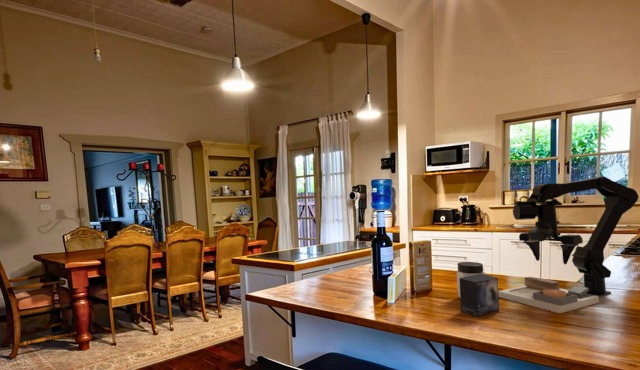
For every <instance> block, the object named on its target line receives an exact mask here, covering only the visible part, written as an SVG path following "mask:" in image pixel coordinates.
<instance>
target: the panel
mask: <svg viewBox="0 0 640 370" xmlns="http://www.w3.org/2000/svg"><path fill="white" fill-rule="evenodd" d="M559 289H560V290H562V291H565V292H566V296H565V297H561V298H557V297H553V296H548V295H544V294H543V290H541V289H537V288H532V287H528V286H525V285H523V286H517V287H512V288H508V289H503V290H498V291H499V298H502V299H504V300H509V301H512V302H517V303H520V304H524V305H528V306H530V307H535V308H538V309H542V310H545V309H546V310H547V311H549V310H550V311H549V312H553V313H557V314H562V313H566V312H569V311H574V310H577V309H581V308H585V307H589V306H591V305H595V304H599V303H600V300H599V299H600V298H599V295H594V294H589V293H585V294H583V295H582V296H577V295H575V294H570V293H568V290H569V289H564V288H560V287H559ZM546 310H545V311H546Z"/></svg>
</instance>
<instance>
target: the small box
mask: <svg viewBox="0 0 640 370" xmlns="http://www.w3.org/2000/svg"><path fill="white" fill-rule="evenodd" d="M459 280H460V298H459V300H460V312H461V313H465V314H468V315H471V316H473V317H476V318H478V317H482V316H485V315H489V314H492V313H497V312H500V309H501V308H500V297H499V291H500V290H499V277H497V276H494V275H493V276H492V275H488V274H486V273H485V274H477V275H472V276H466V277H461V278H459Z"/></svg>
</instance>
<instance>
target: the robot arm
mask: <svg viewBox="0 0 640 370" xmlns="http://www.w3.org/2000/svg"><path fill="white" fill-rule="evenodd" d="M590 190H596V191H597V192H598V193H599V194H600V195H601V196H603V197H605V199H604V207H605V209H604V210H603V213H602V215H601V217H600V218H599V220H598V222H597V224H596V226H595V228H594V230H593V231H592V233H591V235H590V237H589V239H588V241H587V243H586V244H585V245H584V246H579V245H581V244H583V243H584V242H583V241H584V240H583V237H582V236H581V235H580V234H572V233H571V234H569V233H568V234H563V235H561V232H560V231H559V229H558V228H559V227H558V225H559V224H560V220H558V218H557V208H556V207H557V206H562V205H563V202H561V201H559V200H558V199H557V198H560V197H562V196H563V195H566V194H572V193H576V192H584V191H590ZM549 200H550V201H549ZM638 200H639V194H638V192H637V191H636V190H635V189H634V188H631V187H628V186H626V185H624V184H621V183H620V182H616V181H614V180H612V179H610V178H609V177H606V176H594V177H592V178H587V179H582V180H575V181H570V182H564V183H553V182H552V183H540V184H536V185H535V186H534V187H533V188H532V193H531V194H530V196H529V197H528V199H527V201H526V200H525V201H524V200H523V201H522V200H517V201H514V206H513V210H512V215H513V217H514V219H515V220H516V221H519V220H521V221H522V220H535V219H536V218H537V221H535V224H534V225H535V226H534V227H532V228H531V229H530V230H528V231H527V232H521V233H519V236H518V238H519V240H518V241H520V242H522V243H523V244H526V245H527V246H528V247H529V249H530V250H531V252H532V255H533V256H534V258H535V260H536V261H537V262H538V261H540V257H541V247H540V246H541V243H540V242H545V241H551V242H560V243H561V244H559V246H560V248H561V251H562V263H563V265H567V264H568V262H569V260H570V257H572V259H571V262H572V263H573V266H574V267H575V268H576V269H577V270H578V272H579V273H580V274H583V284H584V285H583V287H586V288H589V291H588V292H587V293H586V294H590V295H594V296H598V297H599V296H600V297H601V296H607V295H610V294H612V291H608V290H607V288H606V279H607V278H610V277H611V274H612V271H611V270H610V269H609V268H607V267H606V266H605V265H604V261H605V253H604V250H605V248H606V246H607V244H608V242H609V240H610V239H611V237H612V235H613V233H614V231H615V230H616V227H617V226H618V224H619V222H620V221H621V218H622V216H623V215H624V214H626V213H627V212H629V210H631V209H632V208H633V207H634V206H635V204H636V203H637V202H638ZM574 249H575V251H574ZM573 251H574V252H573ZM572 253H573V254H572Z"/></svg>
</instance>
